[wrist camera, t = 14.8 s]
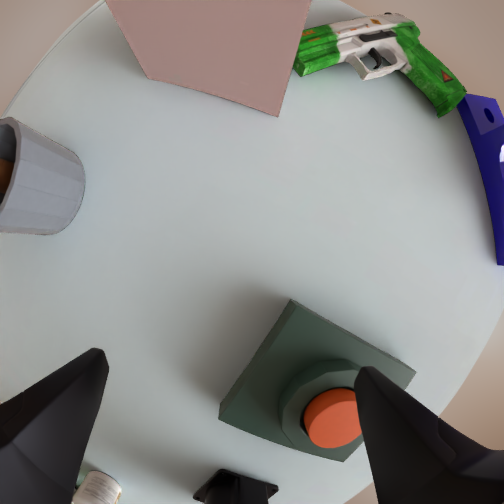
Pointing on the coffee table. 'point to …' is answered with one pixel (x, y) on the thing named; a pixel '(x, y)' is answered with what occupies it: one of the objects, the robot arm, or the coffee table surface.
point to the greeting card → (217, 45)
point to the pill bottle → (97, 490)
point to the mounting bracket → (488, 156)
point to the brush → (5, 174)
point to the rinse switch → (302, 379)
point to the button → (332, 418)
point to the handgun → (376, 45)
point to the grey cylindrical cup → (38, 182)
